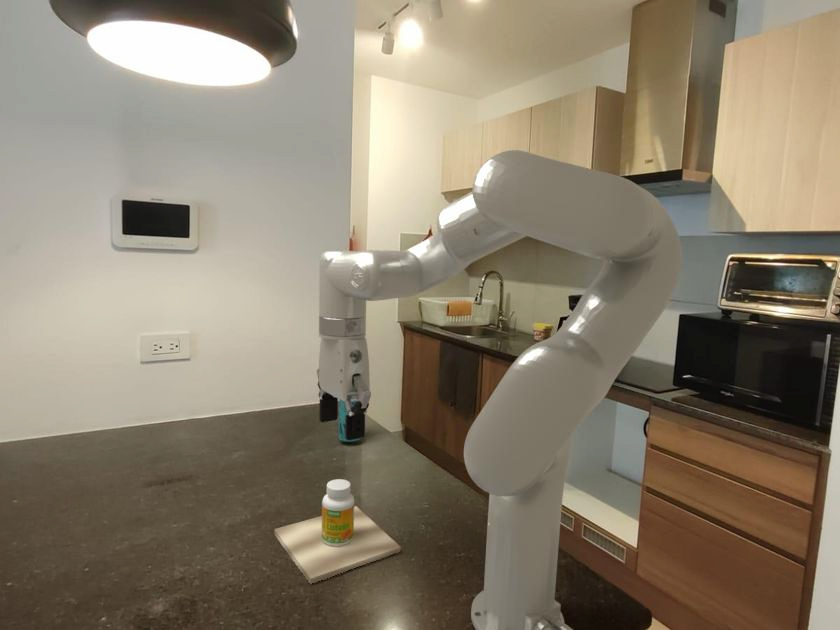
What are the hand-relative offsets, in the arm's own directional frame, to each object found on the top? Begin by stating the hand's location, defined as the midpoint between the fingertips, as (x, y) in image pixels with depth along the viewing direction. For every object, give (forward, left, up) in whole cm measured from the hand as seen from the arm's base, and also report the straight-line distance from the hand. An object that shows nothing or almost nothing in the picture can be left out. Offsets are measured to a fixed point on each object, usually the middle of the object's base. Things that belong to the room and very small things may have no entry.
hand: (341, 429), depth 86 cm
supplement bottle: (0, 0, -20) cm, 20 cm away
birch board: (0, 0, -20) cm, 20 cm away
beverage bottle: (+40, -23, -21) cm, 51 cm away
